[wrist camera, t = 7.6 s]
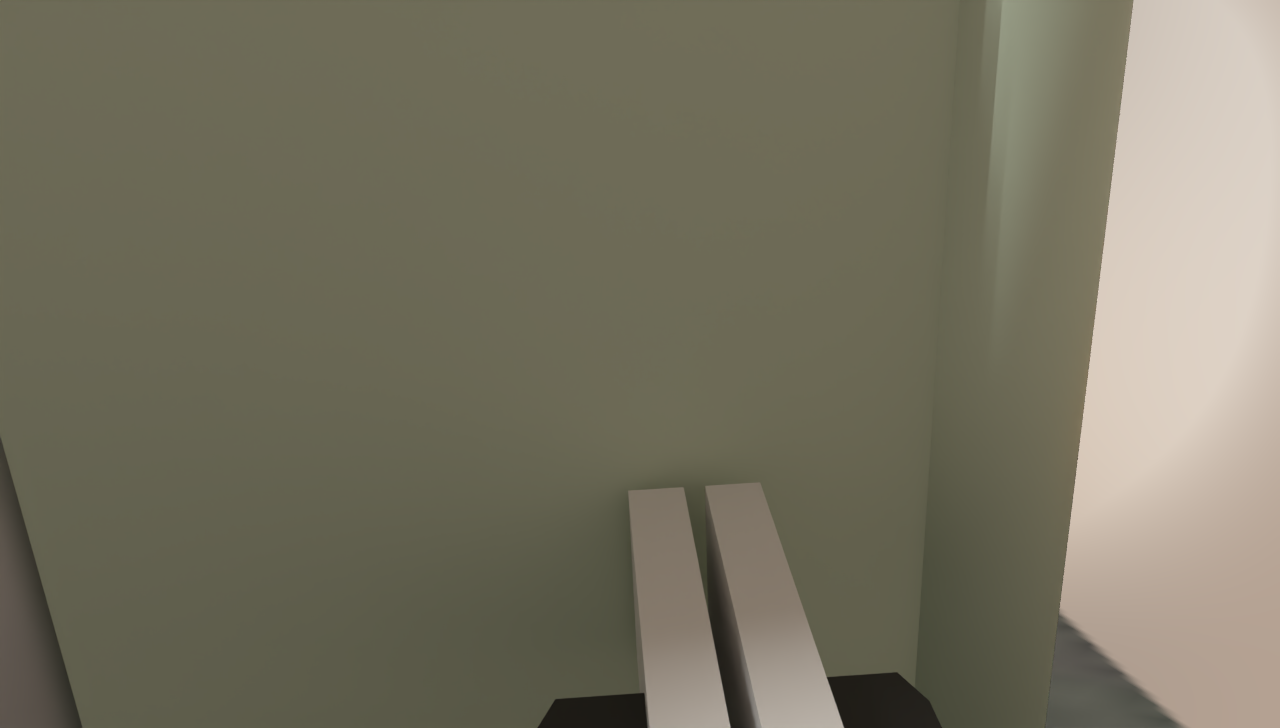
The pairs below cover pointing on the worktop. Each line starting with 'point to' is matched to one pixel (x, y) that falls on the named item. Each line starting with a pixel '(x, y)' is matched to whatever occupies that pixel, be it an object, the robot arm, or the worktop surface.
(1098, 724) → the worktop surface
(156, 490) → the pale green flat panel
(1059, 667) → the worktop surface
